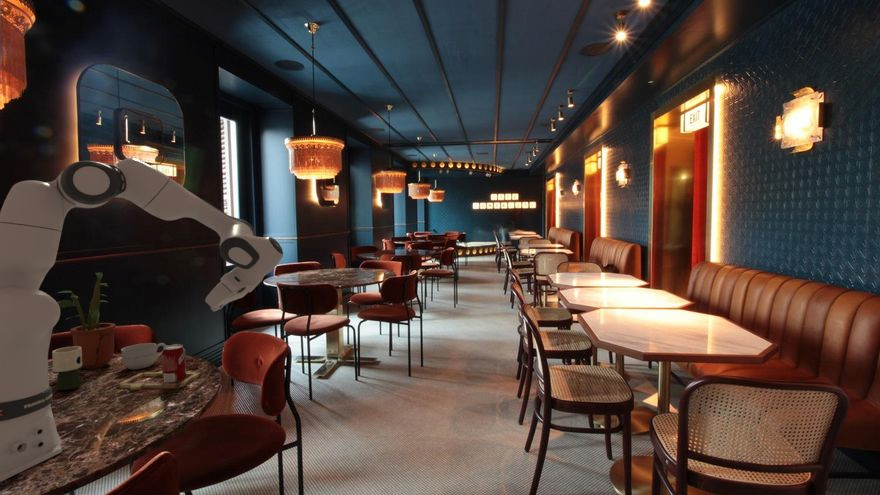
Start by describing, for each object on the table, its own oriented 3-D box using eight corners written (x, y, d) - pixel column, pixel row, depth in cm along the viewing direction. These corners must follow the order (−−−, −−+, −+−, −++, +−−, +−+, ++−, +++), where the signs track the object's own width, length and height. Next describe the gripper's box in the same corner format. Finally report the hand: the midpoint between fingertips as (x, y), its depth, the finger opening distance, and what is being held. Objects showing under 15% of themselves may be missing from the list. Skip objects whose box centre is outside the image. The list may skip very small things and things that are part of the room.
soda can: (175, 386, 140) (173, 350, 140) (157, 384, 142) (156, 348, 141) (191, 378, 147) (189, 344, 146) (174, 377, 148) (172, 343, 148)
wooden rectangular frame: (176, 390, 137) (176, 386, 137) (112, 389, 137) (111, 386, 137) (203, 373, 152) (203, 370, 152) (145, 373, 152) (145, 370, 152)
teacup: (120, 374, 152) (119, 351, 151) (124, 365, 161) (123, 344, 160) (166, 367, 159) (165, 346, 158) (167, 359, 168) (167, 339, 168)
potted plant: (112, 358, 169) (108, 270, 167) (123, 367, 159) (118, 273, 157) (53, 370, 156) (48, 274, 154) (61, 380, 146) (55, 278, 144)
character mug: (83, 391, 136) (81, 351, 135) (53, 397, 132) (50, 355, 131) (83, 381, 145) (81, 343, 144) (55, 386, 140) (53, 347, 139)
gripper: (251, 268, 149) (224, 296, 150) (220, 276, 128) (189, 308, 129) (264, 281, 149) (237, 309, 150) (235, 291, 129) (204, 323, 129)
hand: (215, 309), depth 139 cm, fingers closed
